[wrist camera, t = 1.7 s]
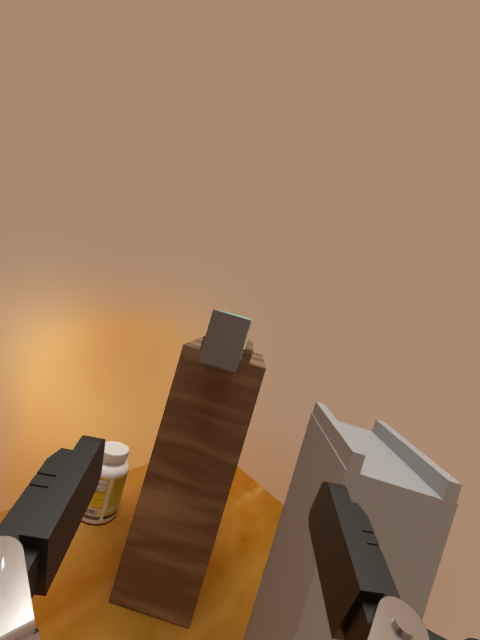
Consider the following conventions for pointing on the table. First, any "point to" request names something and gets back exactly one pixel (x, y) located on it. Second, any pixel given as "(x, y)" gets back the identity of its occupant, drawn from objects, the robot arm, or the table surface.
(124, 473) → the pill bottle
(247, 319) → the teal bar
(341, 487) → the robot arm
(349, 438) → the grey stand
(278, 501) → the table surface
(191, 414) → the walnut stand
